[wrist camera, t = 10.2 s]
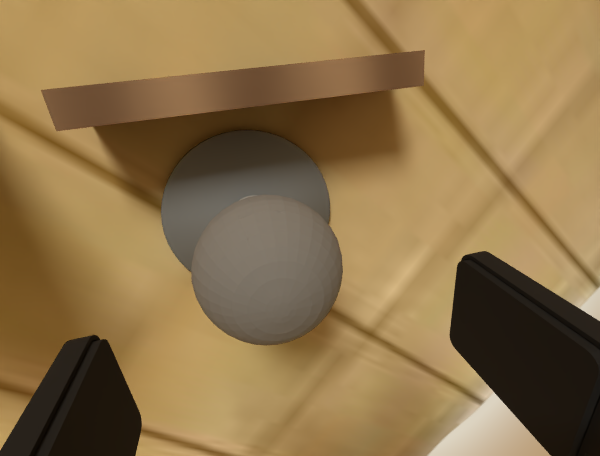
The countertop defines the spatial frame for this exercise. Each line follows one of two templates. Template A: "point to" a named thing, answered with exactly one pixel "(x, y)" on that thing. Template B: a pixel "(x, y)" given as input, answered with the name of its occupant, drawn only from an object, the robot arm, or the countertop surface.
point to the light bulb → (267, 269)
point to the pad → (235, 183)
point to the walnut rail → (230, 89)
